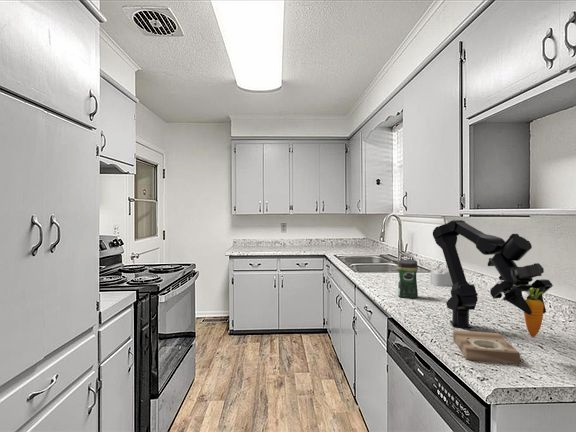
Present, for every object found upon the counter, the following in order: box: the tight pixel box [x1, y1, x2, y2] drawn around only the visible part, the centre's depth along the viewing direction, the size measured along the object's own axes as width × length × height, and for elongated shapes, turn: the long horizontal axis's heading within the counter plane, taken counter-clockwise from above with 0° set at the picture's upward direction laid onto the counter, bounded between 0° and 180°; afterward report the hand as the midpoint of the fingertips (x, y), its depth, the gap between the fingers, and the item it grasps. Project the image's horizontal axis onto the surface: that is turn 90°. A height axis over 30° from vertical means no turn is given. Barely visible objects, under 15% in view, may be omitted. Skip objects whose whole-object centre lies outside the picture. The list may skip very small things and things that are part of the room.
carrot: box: [523, 288, 545, 338], centre depth 113 cm, size 5×5×15 cm
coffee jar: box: [397, 259, 419, 299], centre depth 190 cm, size 10×8×19 cm
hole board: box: [452, 329, 521, 365], centre depth 118 cm, size 18×14×3 cm
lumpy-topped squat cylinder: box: [429, 268, 453, 287], centre depth 222 cm, size 10×13×9 cm
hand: (537, 313), depth 111 cm, fingers closed on carrot, 5 cm apart
